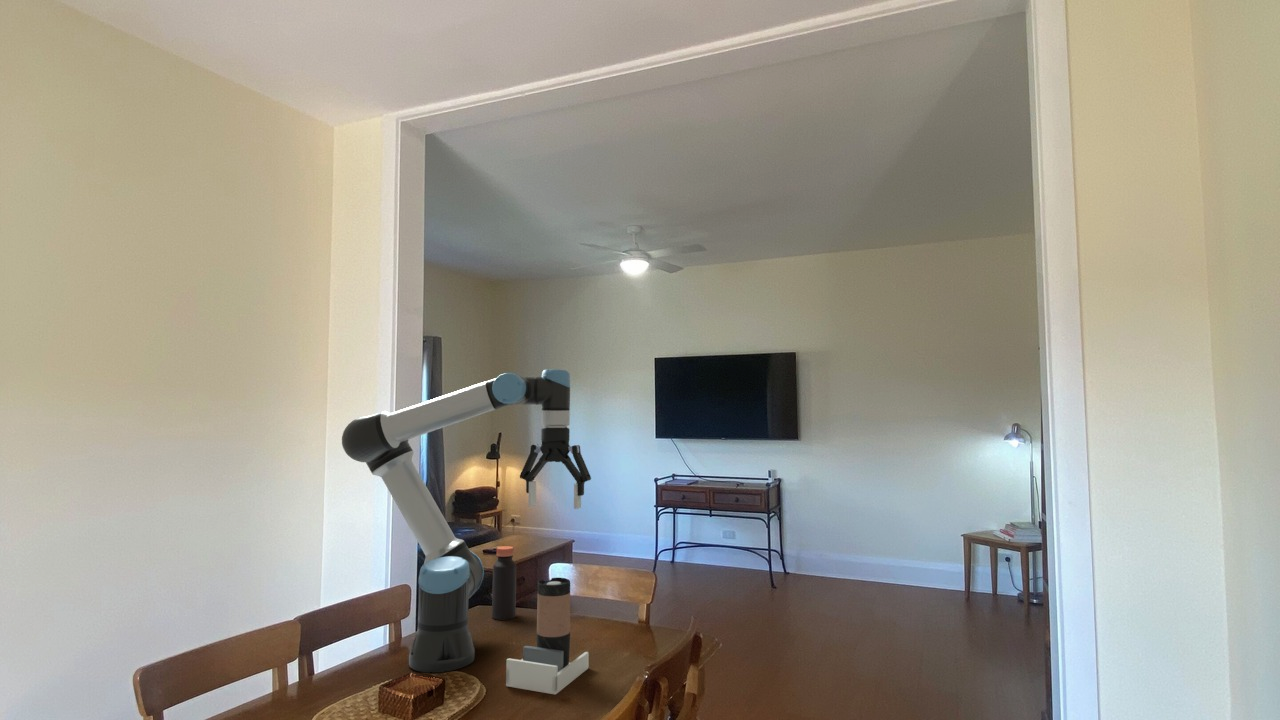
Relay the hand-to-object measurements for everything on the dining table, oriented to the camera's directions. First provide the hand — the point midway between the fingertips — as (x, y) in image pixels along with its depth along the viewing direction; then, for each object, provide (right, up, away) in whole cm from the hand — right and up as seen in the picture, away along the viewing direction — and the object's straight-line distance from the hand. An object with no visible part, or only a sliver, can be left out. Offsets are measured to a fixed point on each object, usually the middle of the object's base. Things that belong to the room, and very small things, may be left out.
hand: (554, 507), depth 175 cm
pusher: (+1, -32, -29) cm, 43 cm away
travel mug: (+3, -32, -25) cm, 41 cm away
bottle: (-17, -37, +18) cm, 45 cm away
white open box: (+2, -32, -26) cm, 42 cm away
